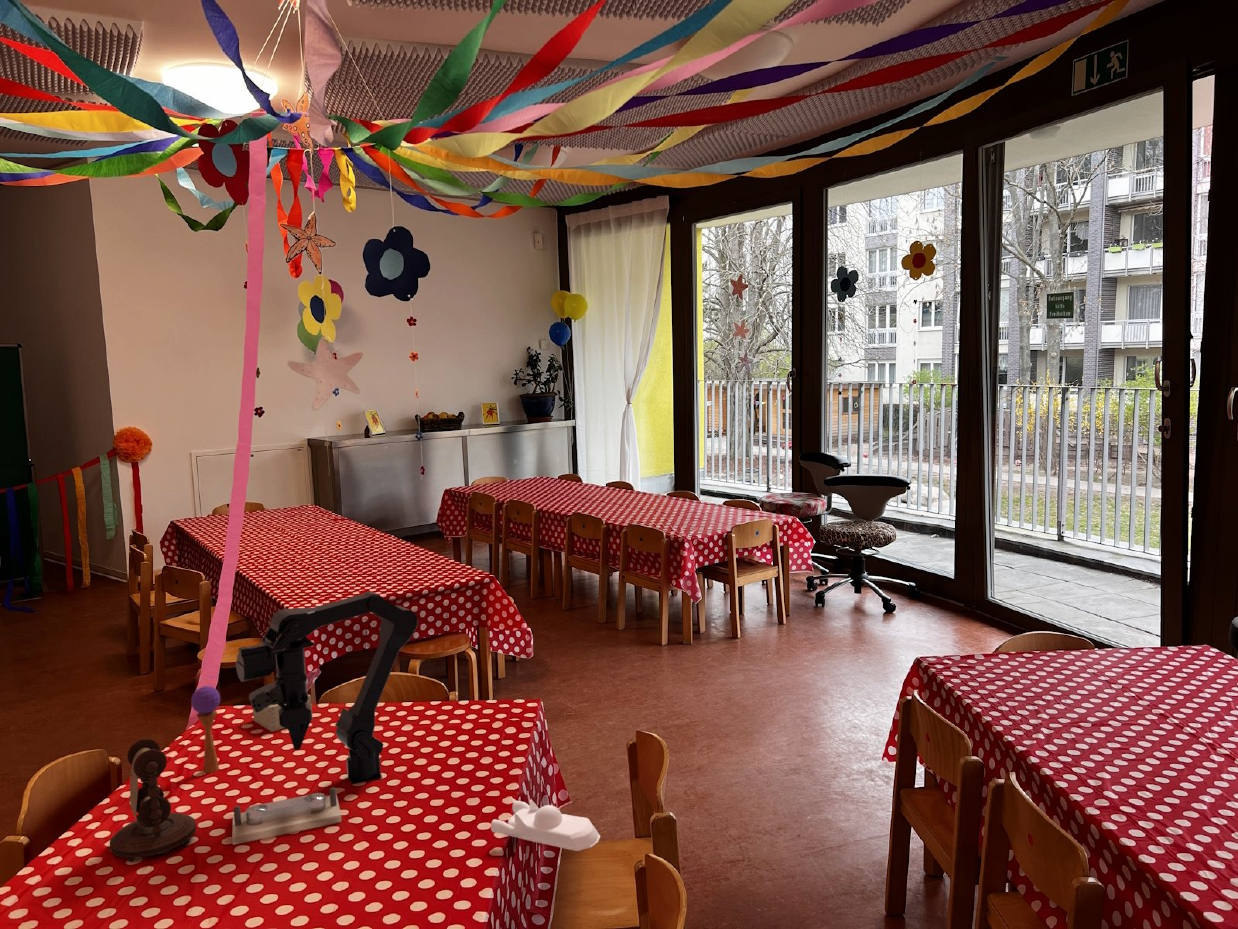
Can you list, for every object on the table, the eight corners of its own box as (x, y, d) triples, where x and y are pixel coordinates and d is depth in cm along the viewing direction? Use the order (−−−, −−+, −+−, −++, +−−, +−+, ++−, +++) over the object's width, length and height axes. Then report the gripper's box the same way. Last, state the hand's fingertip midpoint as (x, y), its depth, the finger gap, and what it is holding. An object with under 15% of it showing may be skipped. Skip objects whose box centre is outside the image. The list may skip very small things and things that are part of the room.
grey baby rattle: (325, 802, 184) (324, 791, 184) (326, 811, 180) (325, 799, 180) (246, 818, 178) (245, 807, 178) (246, 827, 175) (245, 815, 175)
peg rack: (336, 801, 188) (335, 778, 187) (341, 822, 179) (339, 798, 178) (233, 821, 180) (231, 798, 180) (232, 845, 171) (230, 820, 171)
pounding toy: (333, 713, 239) (331, 683, 239) (278, 736, 225) (276, 705, 224) (288, 702, 249) (286, 673, 248) (233, 724, 234) (231, 693, 233)
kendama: (201, 780, 200) (194, 693, 198) (194, 771, 205) (187, 687, 203) (229, 772, 204) (222, 687, 202) (221, 764, 208) (214, 680, 207)
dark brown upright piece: (105, 842, 174) (95, 743, 172) (187, 818, 183) (179, 723, 181) (117, 874, 162) (107, 768, 160) (204, 846, 171) (196, 746, 169)
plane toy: (585, 860, 162) (584, 829, 162) (490, 840, 170) (489, 811, 170) (609, 832, 172) (607, 803, 171) (518, 815, 180) (516, 787, 179)
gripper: (249, 663, 194) (254, 733, 195) (249, 690, 177) (255, 766, 178) (304, 655, 198) (308, 724, 199) (309, 681, 181) (314, 755, 182)
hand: (296, 741), depth 190 cm, fingers open, 9 cm apart
